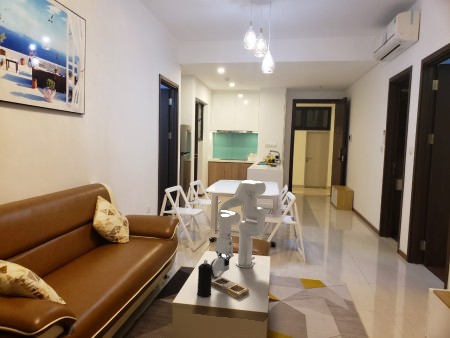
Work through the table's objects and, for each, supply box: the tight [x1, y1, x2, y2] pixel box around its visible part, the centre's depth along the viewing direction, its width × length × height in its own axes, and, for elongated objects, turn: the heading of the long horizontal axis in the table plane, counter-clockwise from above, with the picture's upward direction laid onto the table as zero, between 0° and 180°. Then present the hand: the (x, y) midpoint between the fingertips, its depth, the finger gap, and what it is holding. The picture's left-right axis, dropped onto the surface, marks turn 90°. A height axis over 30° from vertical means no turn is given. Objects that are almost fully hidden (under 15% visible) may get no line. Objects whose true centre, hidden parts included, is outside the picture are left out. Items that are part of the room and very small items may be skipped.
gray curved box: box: [209, 257, 225, 279], centre depth 203 cm, size 17×5×10 cm, turn 161°
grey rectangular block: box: [217, 254, 230, 273], centre depth 186 cm, size 5×5×8 cm
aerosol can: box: [196, 259, 213, 298], centre depth 174 cm, size 8×8×20 cm
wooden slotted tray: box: [211, 276, 250, 300], centre depth 182 cm, size 9×22×3 cm, turn 48°
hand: (223, 263), depth 186 cm, fingers closed on grey rectangular block, 5 cm apart
